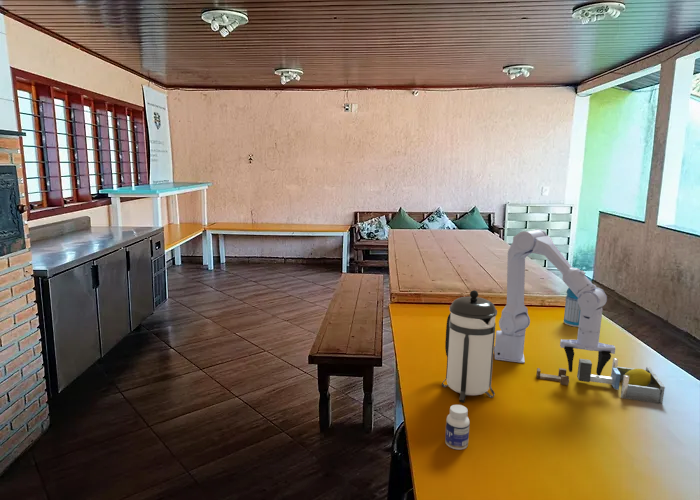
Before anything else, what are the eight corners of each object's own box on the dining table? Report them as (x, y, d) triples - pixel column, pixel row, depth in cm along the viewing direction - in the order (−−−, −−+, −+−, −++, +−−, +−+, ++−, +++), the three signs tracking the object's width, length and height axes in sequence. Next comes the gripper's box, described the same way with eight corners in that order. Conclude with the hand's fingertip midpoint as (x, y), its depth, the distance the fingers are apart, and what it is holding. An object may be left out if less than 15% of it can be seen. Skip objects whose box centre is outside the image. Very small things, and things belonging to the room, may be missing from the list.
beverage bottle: (564, 326, 193) (569, 278, 189) (561, 319, 201) (566, 273, 197) (587, 328, 190) (592, 280, 187) (583, 321, 198) (588, 275, 195)
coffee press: (501, 386, 139) (509, 287, 134) (486, 410, 126) (495, 301, 120) (444, 372, 148) (449, 279, 143) (425, 393, 134) (430, 291, 129)
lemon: (629, 396, 137) (658, 387, 135) (622, 380, 136) (651, 370, 134) (623, 386, 142) (650, 377, 140) (615, 370, 142) (643, 361, 139)
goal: (621, 398, 134) (624, 376, 132) (610, 377, 147) (612, 357, 145) (662, 404, 131) (666, 382, 130) (647, 382, 144) (650, 362, 143)
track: (537, 381, 143) (538, 373, 143) (535, 372, 149) (536, 365, 149) (570, 385, 141) (570, 377, 140) (566, 376, 147) (567, 369, 146)
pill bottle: (442, 437, 113) (444, 403, 111) (463, 436, 113) (466, 402, 112) (448, 450, 108) (451, 415, 106) (471, 450, 108) (473, 414, 107)
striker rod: (578, 384, 141) (581, 363, 140) (576, 377, 145) (578, 357, 144) (618, 389, 138) (621, 368, 137) (615, 383, 142) (617, 362, 141)
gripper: (564, 330, 138) (559, 374, 140) (620, 336, 134) (614, 381, 136) (561, 323, 144) (556, 365, 147) (614, 328, 140) (608, 371, 143)
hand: (584, 372), depth 142 cm, fingers open, 7 cm apart
